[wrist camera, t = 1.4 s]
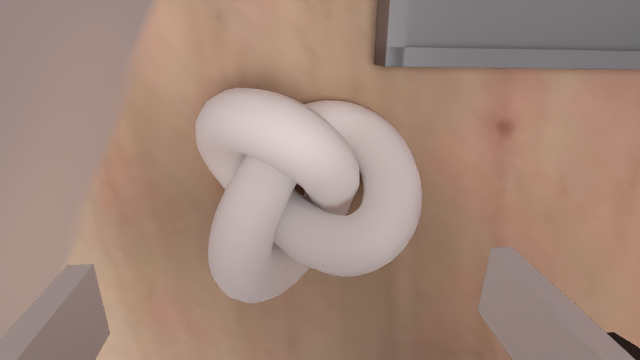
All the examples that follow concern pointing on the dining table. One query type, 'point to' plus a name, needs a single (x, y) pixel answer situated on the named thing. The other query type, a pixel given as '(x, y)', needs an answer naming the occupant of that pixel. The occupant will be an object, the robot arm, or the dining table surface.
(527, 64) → the tray
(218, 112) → the white trefoil knot
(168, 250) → the dining table surface
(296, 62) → the dining table surface
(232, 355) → the dining table surface
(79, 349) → the robot arm
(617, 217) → the dining table surface
